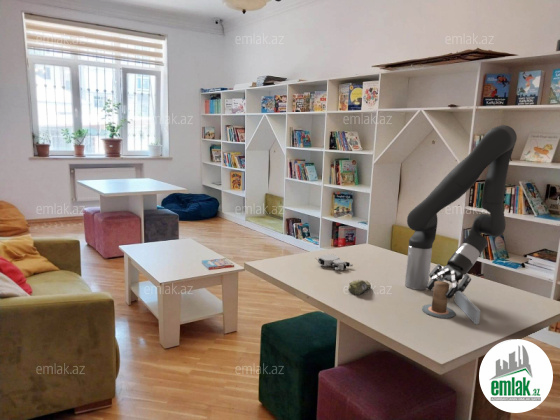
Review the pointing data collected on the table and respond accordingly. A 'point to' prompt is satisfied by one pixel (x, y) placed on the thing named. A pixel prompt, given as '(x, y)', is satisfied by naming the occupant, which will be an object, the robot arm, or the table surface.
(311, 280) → the table surface
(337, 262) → the robot toy
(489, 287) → the table surface
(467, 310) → the acrylic wall
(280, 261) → the table surface
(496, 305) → the table surface
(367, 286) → the rock
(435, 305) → the walnut pin
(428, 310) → the mat
